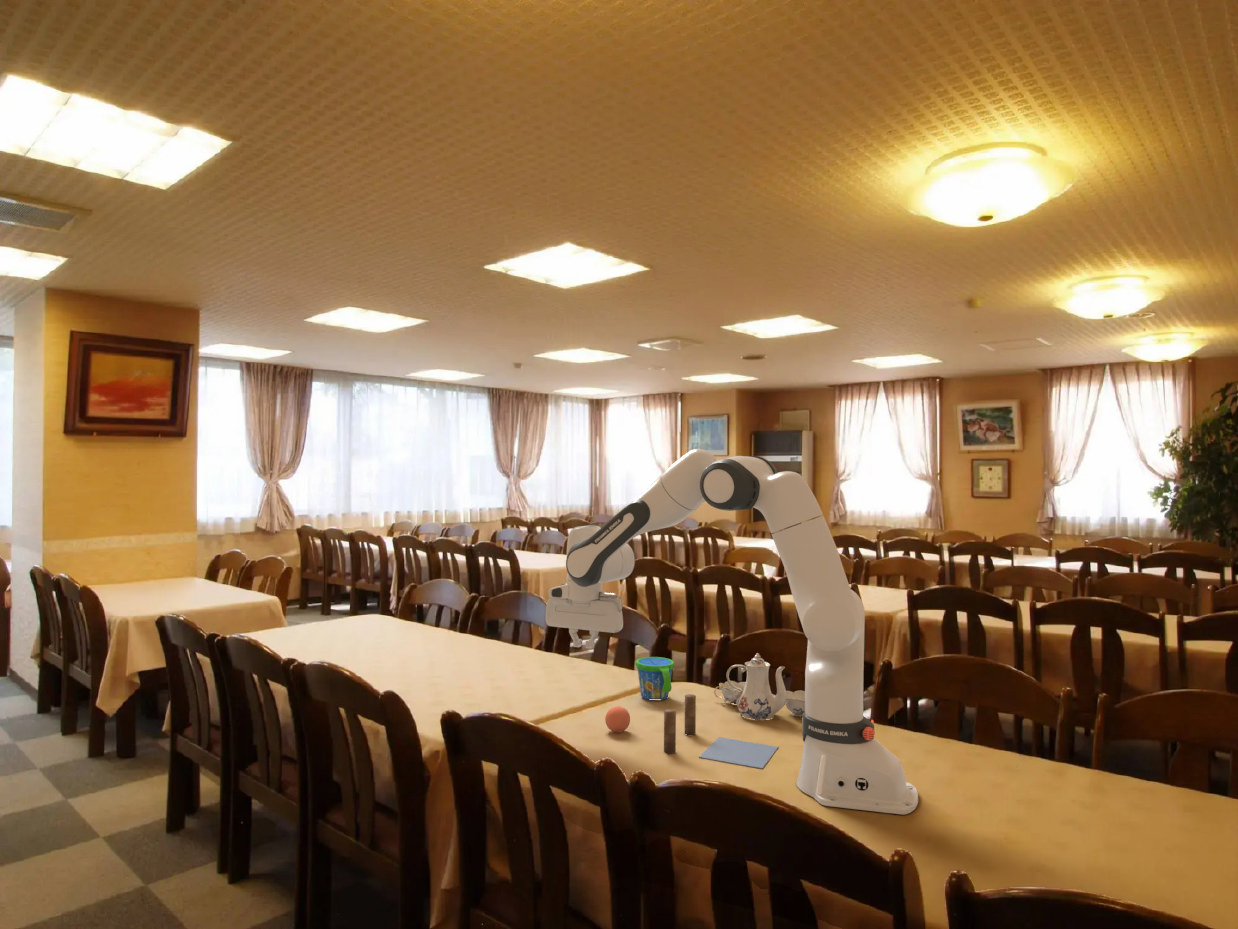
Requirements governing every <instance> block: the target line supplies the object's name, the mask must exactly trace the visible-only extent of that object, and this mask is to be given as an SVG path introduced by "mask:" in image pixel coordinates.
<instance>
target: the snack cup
mask: <svg viewBox="0 0 1238 929" xmlns="http://www.w3.org/2000/svg"><path fill="white" fill-rule="evenodd" d="M635 666H636V669H637V674H638V682H639V689H640V690H639V692H640V696H641V698H643V699H645V700H647V699H664V700H666V699H667V697H668V698H669V693H670V692H671V691H672V687H673V686H672V682H671V680H672V674H673V673H672V672H673V669H674V668H675V662H674V660H672V659H671V658H666V657H662V656H661V657H660V656H646V657H645V656H644V657H641V658H638V659H636V661H635ZM665 698H666V699H665Z"/></svg>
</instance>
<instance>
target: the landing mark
mask: <svg viewBox="0 0 1238 929" xmlns="http://www.w3.org/2000/svg"><path fill="white" fill-rule="evenodd" d="M777 748H778V749H779V746H776V745H769V744H763V743H759V742H758V743H757V742H751V741H745V740H744V741H743V740H739V739H732V738H726V737H719V736H718V737H717V738H716V739H715V740H714V741H713V742H712V743H711V744H710V745H709V746H708V747H707V748H706V749H705V750H704V751H703V752H702V753H701V754H700V755H699V756H698V758H699V759H703V760H704V759H705V760H710V761H714V762H721V763H726V764H731V765H738V766H743V767H748V768H754V769H760V770H763V769H764V768H765V767H766V765H767V764H768V762H769V761H770V760H771V758H772V757H773V755H774V754H775V753H776V751H777V750H778V749H777Z"/></svg>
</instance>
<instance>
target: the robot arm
mask: <svg viewBox="0 0 1238 929" xmlns="http://www.w3.org/2000/svg"><path fill="white" fill-rule="evenodd" d="M705 502H706V503H707V504H708V505H709V506H711V507H712V508H715V509H716V510H717V509H718V510H721V511H727V512H728V511H730V512H731V511H748V510H752V508H754V509H756V510H758V511H759V512H760V513H761V514H762V515H763V518H764V520H765V522H766V523H767V527H768V529H769V532H770V534H771V537H772V539H773V541H774V545H775V547H776V550H777V553H778V555H779V558H780V560H781V562H782V565H783V567H784V571H785V574H786V577H787V580H788V584H789V585H788V586H789V588H790V592H791V595H792V599H793V602H794V605H795V608H796V611H797V615H798V618H799V621H800V624H801V627H802V629H803V634H804V635H805V637H806V638H807V647H806V648H807V650H806V661H805V662H806V663H805V671H804V678H805V680H804V691H805V712H804V713H803V716H802V717H801V734H802V741H803V749H802V756H801V762H800V767H799V771H798V776H797V779H796V782H795V784H796V785H797V787H798V789H799V790H800V791H802V792H803V793H805V794H806V795H808V796H810V797H812V798H813V799H815V801H817V802H818V803H819V804H820V805H821V806H822V805H823V806H826V807H833V808H834V807H835V808H842V809H851V810H859V811H860V810H861V811H869V812H877V813H883V814H894V815H895V814H896V815H908V814H910V813H912V812H913V811H915V810H916V808H917V807H918V804H919V793H918V792H919V791H918V790H917V788H916V787H915V786H914V785H913V784H912V783H911V782H907V780H906V775H905V770H904V768H903V765H902V763H901V760H900V759H899V758H898V756H896V755H895V754H893V753H892V752H891V751H890V750H889V749H888V748H886V747H885V746H884V745H882V743H880V742H879V741H878V740H877V739H876V738H875V724H874V723H875V722H874V720H873V719H871V721H870V720H869V719H868V718H867V717H866V716H864V667H865V665H864V663H865V662H864V661H865V629H866V628H865V625H866V624H865V606H864V603H863V601H862V599H861V598H860V596H859V595H858V594H857V592H856V591H854V590H853V589H851V586H850V584H849V581H848V578H847V575H846V571H845V568H844V566H843V563H842V560H841V557H840V552H839V550H838V548H837V545H836V543H835V540H834V538H833V535H832V533H831V531H830V527H829V525H828V523H827V520H826V518H825V516H824V513H823V511H822V509H821V506H820V504H819V502H818V500H817V498H816V496H815V494H814V493H813V491H812V490H811V487H810V486H809V484H808V483H807V481H806V480H805V478H804V477H803V475H801V474H800V473H798V472H795V471H790V470H785V471H779V472H778V470H777V468H776V467H775V465H774V464H773V463H772V462H771V461H769V460H768V459H767V458H764V457H762V456H758V455H748V456H747V455H746V456H743V455H735V456H730V457H727V458H720V459H718V458H717V457H715V455H714V454H713V453H711V452H709V451H708V450H706V449H702V448H694V449H691V450H688V452H686V453H684V455H681V457H679V458H677V459H676V461H674V462H673V463H672V464H671V465H670V466H668V468H666V469H665V470H664V471H663V472H662V473H661V475H660V476H659V477H658V478H657V479H656V480H655V481H654V482H652V484H651V485H650V486H648V488H646V489H645V490H644V491H643V492H642V493H641V494H640V495H638V496H637V497H636V498H634V500H632V501H631V502H630V503H629V504H627V505H626V506H624V507H623V508H621V510H620V511H619V512H618V513H616V514H615V515H614V516H613V517H612V518H611V519H609V520H608V521H607V522H606V523H605V524H604V525H603V526H601V527H600V526H599V525H596V524H588V525H581V526H575V527H573V528H572V529H571V530H570V531H569V533H568V536H567V543H566V560H565V567H566V572H567V574H566V580H565V581H566V582H565V583H562V584H560V585H559V586H558V585H557V586H555V587H551V588H549V589H548V590H547V591H548V592H547V595H548V599H547V601H546V604H545V605H546V606H545V616H544V617H545V619H544V620H545V623H546V625H547V626H549V627H554V628H564V629H568V633H569V635H570V637H571V639H572V640H573V642H572V645H573V646H572V647H574V648H580V647H582V645H583V644H582V642H583V639H582V638H579V635H578V632H579V630H583V631H589V635H590V638H589V639H588V640H585V649H589V650H592V649H594V648H595V641H596V639H597V637H598V636H599V633H600V632H603V633H612V634H615V633H620V631H621V630H622V629H623V628H624V615H623V610H622V609H623V599H622V598H621V596H619V595H618V594H617V593H615V592H614V593H613V592H612V593H611V592H610V593H609V592H603V583H608V582H613V581H614V582H615V581H620V580H623V579H626V578H628V577H630V576H631V575H632V573H633V571H634V569H635V567H636V555H635V552H634V549H633V548H632V546H631V545H630V544H629V542H630V541H631V540H632V539H634V538H636V537H638V536H640V535H642V534H645V533H649V532H653V531H657V530H661V529H666V528H671V527H675V526H677V525H679V524H680V523H682V522H683V521H685V520H686V519H688V518H689V517H690V516H691V515H692V514H694V513H695V512H696V511H697V510H698V509H699V508H700V507H701V506H702V505H703V504H704V503H705Z"/></svg>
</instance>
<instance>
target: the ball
mask: <svg viewBox="0 0 1238 929" xmlns="http://www.w3.org/2000/svg"><path fill="white" fill-rule="evenodd" d="M604 722H605V724H606V726H607V728H608V729H609V730H610V731H612V732H613V733H622V732H624V731H626V730H627V729H628V728H629V726H630V723H631V716H630V712H629V711H628V709H626V708H625V707H623V706H620V705H615V706H612V707H611V708H609V709H608V710H607V712H606V714H605V717H604Z"/></svg>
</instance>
